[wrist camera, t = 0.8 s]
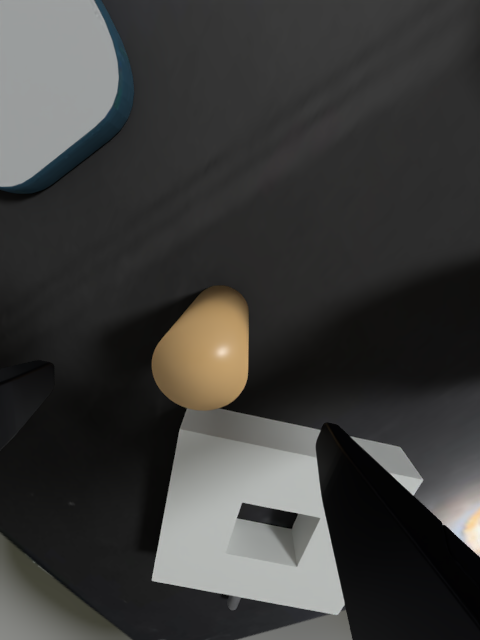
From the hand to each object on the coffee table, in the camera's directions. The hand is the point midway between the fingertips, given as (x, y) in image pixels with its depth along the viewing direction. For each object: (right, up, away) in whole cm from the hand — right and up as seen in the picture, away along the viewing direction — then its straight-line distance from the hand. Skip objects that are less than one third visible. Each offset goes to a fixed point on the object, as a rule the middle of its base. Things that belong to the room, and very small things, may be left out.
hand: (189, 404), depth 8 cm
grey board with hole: (+4, -18, +17) cm, 24 cm away
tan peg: (0, +3, +10) cm, 10 cm away
